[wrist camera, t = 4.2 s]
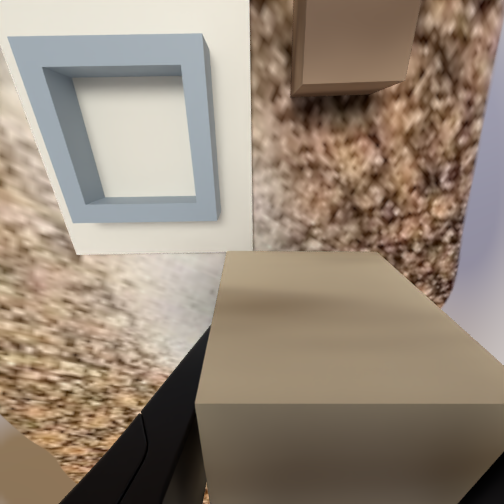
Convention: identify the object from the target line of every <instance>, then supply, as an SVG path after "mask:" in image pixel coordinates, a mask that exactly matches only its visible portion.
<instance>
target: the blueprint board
mask: <svg viewBox="0 0 504 504" xmlns="http://www.w3.org/2000/svg"><path fill="white" fill-rule="evenodd" d="M0 47H1V50H2V52H3V55H4V58H5V61H6V63H7V66H8V69H9V71H10V74H11V77H12V80H13V82H14V85H15V88H16V90H17V93H18V96H19V99H20V101H21V104H22V107H23V109H24V112H25V115H26V118H27V120H28V123H29V126H30V128H31V131H32V134H33V137H34V139H35V142H36V145H37V148H38V150H39V153H40V156H41V158H42V161H43V164H44V167H45V169H46V172H47V175H48V177H49V180H50V183H51V186H52V188H53V191H54V194H55V196H56V199H57V202H58V205H59V207H60V210H61V213H62V216H63V218H64V221H65V224H66V226H67V229H68V232H69V235H70V237H71V240H72V243H73V245H74V248H75V251H76V254H77V255H90V254H154V253H217V252H227V251H253V224H252V154H251V84H250V14H249V0H0Z"/></svg>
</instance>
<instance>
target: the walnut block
mask: <svg viewBox="0 0 504 504" xmlns="http://www.w3.org/2000/svg"><path fill="white" fill-rule="evenodd" d="M420 4H421V0H294V3H293V34H292V65H291V97H316V96H344V95H369V94H372V93H374V92H377V91H379V90H382V89H385V88H387V87H390V86H392V85H395V84H397V83H400V82H403V81H405V79H406V74H407V69H408V64H409V59H410V54H411V49H412V44H413V39H414V34H415V29H416V24H417V19H418V14H419V9H420Z"/></svg>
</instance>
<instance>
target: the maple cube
mask: <svg viewBox="0 0 504 504" xmlns="http://www.w3.org/2000/svg"><path fill="white" fill-rule="evenodd" d="M195 408H196V415H197V421H198V428H199V435H200V441H201V448H202V454H203V461H204V467H205V474H206V481H207V487H208V494H209V500H210V504H458V503H459V501H460V500H461V499H462V498H463V497H464V496H465V495H466V493H467V492H468V491H469V490H470V489H471V488H472V487H473V486H474V484H475V483H476V482H477V481H478V480H479V479H480V478H481V477H482V475H483V474H484V473H485V472H486V471H487V470H488V469H489V468H490V466H491V465H492V464H493V463H494V462H495V461H496V460H497V459H498V457H499V456H500V455H501V454H502V453H503V452H504V365H502V364H501V363H500V362H499V361H498V360H497V359H496V358H495V357H494V356H492V355H491V354H490V353H489V352H488V351H487V350H486V349H485V348H483V347H482V346H481V345H480V344H479V343H478V342H477V341H476V340H474V339H473V338H472V337H471V336H470V335H469V334H468V333H467V332H466V331H464V330H463V329H462V328H461V327H460V326H459V325H458V324H457V323H456V322H454V321H453V320H452V319H451V318H450V317H449V316H448V315H447V314H446V313H444V312H443V311H442V310H441V309H440V308H439V307H438V306H437V305H435V304H434V303H433V302H432V301H431V300H430V299H429V298H428V297H427V296H425V295H424V294H423V293H422V292H421V291H420V290H419V289H418V288H417V287H415V286H414V285H413V284H412V283H411V282H410V281H409V280H408V279H406V278H405V277H404V276H403V275H402V274H401V273H400V272H399V271H398V270H396V269H395V268H394V267H393V266H392V265H391V264H390V263H389V262H388V261H386V260H385V259H384V258H383V257H382V256H381V255H380V254H379V253H377V252H324V251H227V252H226V257H225V262H224V267H223V272H222V276H221V281H220V286H219V291H218V295H217V300H216V305H215V310H214V314H213V319H212V324H211V329H210V333H209V338H208V343H207V348H206V353H205V357H204V362H203V367H202V372H201V376H200V381H199V386H198V391H197V395H196V400H195Z"/></svg>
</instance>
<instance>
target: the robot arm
mask: <svg viewBox="0 0 504 504" xmlns="http://www.w3.org/2000/svg"><path fill="white" fill-rule="evenodd" d="M210 329H211V325H210V326H209V328H208V329H207V330H206V331H205V333H204V334H203V335H202V336H201V338H200V339H199V340H198V341H197V343H196V344H195V345H194V346H193V348H192V349H191V350H190V351H189V352H188V354H187V355H186V356H185V357H184V359H183V360H182V361H181V362H180V364H179V365H178V366H177V367H176V369H175V370H174V371H173V372H172V374H171V375H170V376H169V377H168V378H167V380H166V381H165V382H164V383H163V385H162V386H161V387H160V388H159V390H158V391H157V392H156V393H155V395H154V396H153V397H152V398H151V399H150V401H149V402H148V403H147V404H146V406H145V407H144V408H143V409H142V411H141V414H142V415H141V414H138V415H137V417H136V418H135V419H134V420H133V422H132V423H131V424H130V425H129V427H128V428H127V429H126V430H125V431H124V433H123V434H122V435H121V436H120V437H119V438H118V440H117V441H116V442H115V443H114V444H113V446H112V447H111V448H110V449H109V450H108V451H107V452H106V454H105V455H104V456H103V457H102V458H101V459H100V460H99V461H98V462H97V463H96V464H95V466H94V467H93V468H92V469H91V470H90V471H89V472H88V473H87V474H86V475H85V476H84V478H83V479H82V480H81V481H80V482H79V483H78V484H77V485H76V486H75V487H74V488H73V489H72V490H71V491H70V492H69V493H68V495H67V496H66V497H65V498H64V499H63V500H62V501H61V502H60V503H59V504H202V503H203V498H204V492H205V487H206V482H207V481H206V474H205V467H204V461H203V454H202V448H201V441H200V435H199V428H198V421H197V415H196V408H195V400H196V395H197V391H198V386H199V381H200V376H201V372H202V367H203V362H204V357H205V353H206V348H207V343H208V338H209V333H210ZM458 504H504V452H503V453H502V454H501V455H500V456H499V457H498V459H497V460H496V461H495V462H494V463H493V464H492V465H491V466H490V468H489V469H488V470H487V471H486V472H485V473H484V474H483V475H482V477H481V478H480V479H479V480H478V481H477V482H476V483H475V484H474V486H473V487H472V488H471V489H470V490H469V491H468V492H467V493H466V495H465V496H464V497H463V498H462V499H461V500H460V501H459V503H458Z"/></svg>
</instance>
